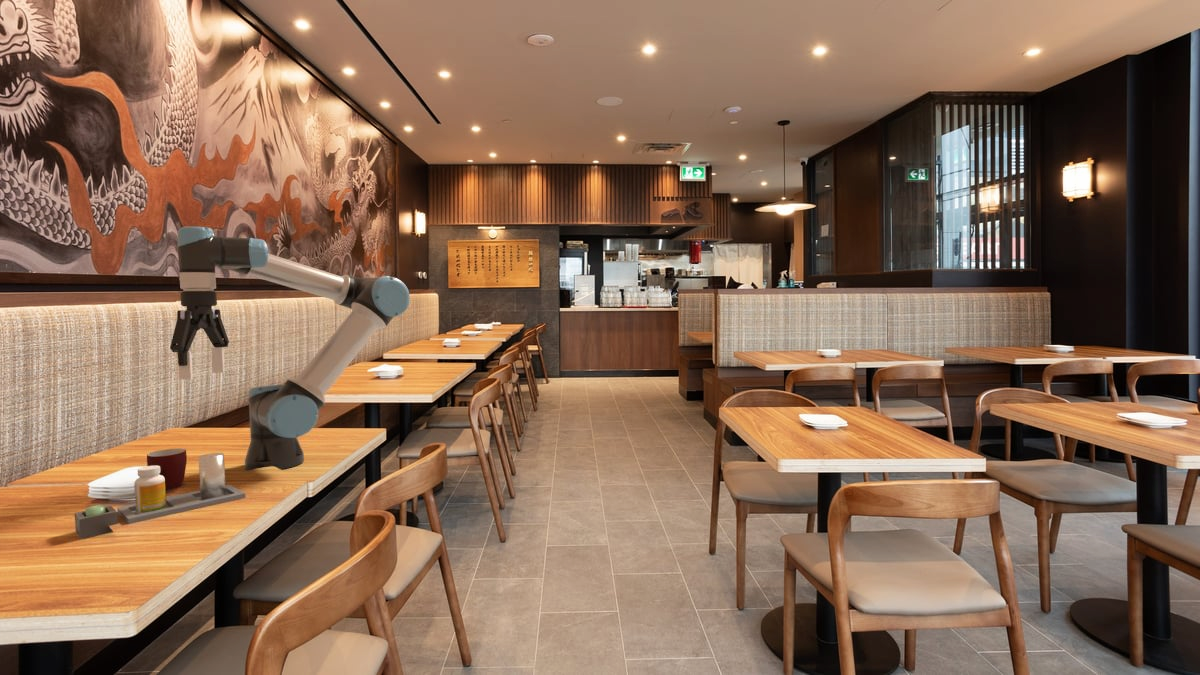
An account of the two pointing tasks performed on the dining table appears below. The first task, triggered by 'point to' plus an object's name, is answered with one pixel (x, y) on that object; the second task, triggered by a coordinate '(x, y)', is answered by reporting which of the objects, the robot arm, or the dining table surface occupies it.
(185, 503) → the grey slotted tray
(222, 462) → the seated billet
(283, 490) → the dining table surface
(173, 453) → the mug
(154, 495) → the supplement bottle
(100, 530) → the grey square holder
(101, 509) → the light green egg
